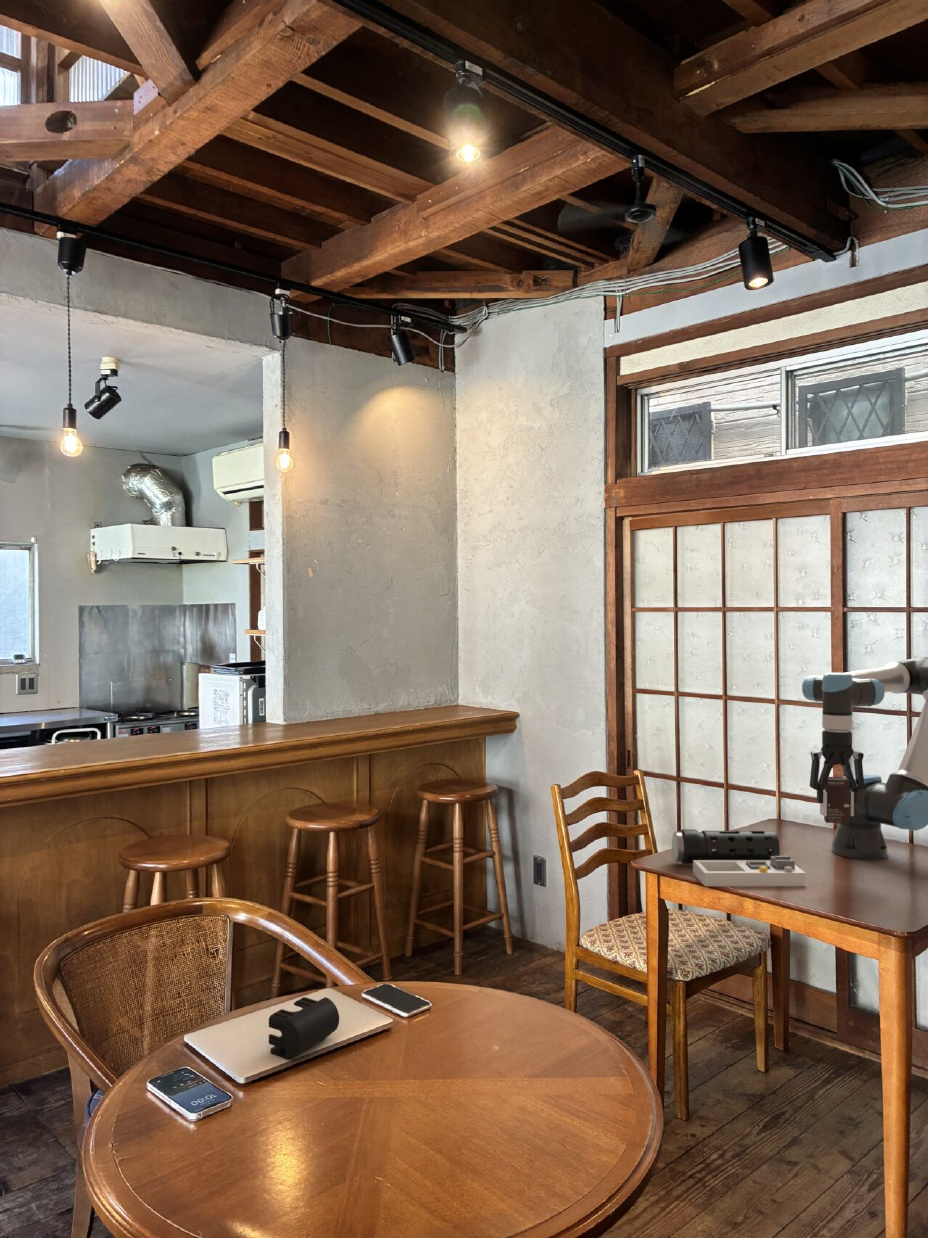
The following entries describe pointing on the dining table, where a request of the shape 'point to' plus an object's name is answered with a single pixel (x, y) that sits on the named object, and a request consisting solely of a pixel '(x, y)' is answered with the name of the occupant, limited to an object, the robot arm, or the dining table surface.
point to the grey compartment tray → (745, 874)
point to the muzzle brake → (724, 845)
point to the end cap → (302, 1026)
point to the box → (837, 800)
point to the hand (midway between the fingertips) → (836, 815)
